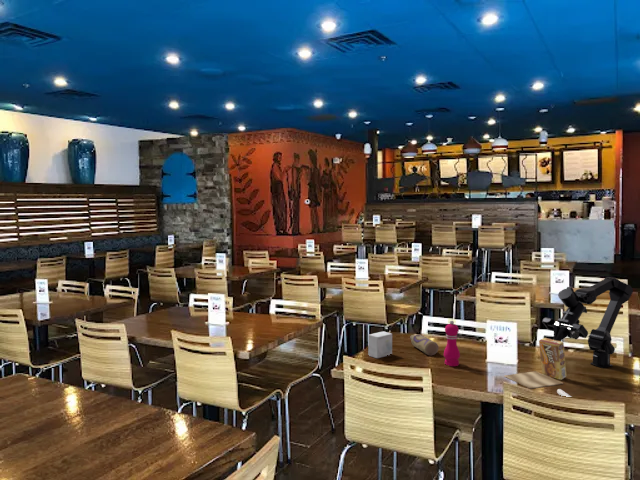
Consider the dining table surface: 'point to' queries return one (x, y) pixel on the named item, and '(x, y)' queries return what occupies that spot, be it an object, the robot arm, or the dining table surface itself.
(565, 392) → the marker
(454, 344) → the pepper mill
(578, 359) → the dining table surface
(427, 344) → the decorative bottle
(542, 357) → the candy box
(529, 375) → the plate
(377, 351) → the skincare box
